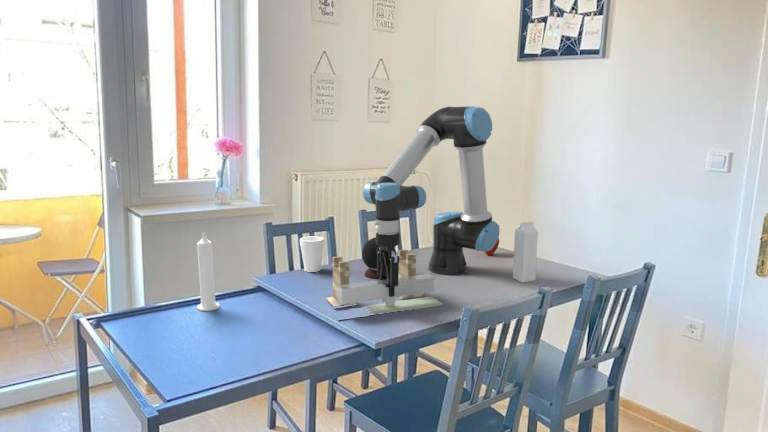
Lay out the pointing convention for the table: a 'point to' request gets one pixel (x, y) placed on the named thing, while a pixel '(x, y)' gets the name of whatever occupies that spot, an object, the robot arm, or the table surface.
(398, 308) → the mat
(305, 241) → the foam cup
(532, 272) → the milk
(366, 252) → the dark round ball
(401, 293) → the rail
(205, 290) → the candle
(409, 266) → the cradle posts
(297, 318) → the table surface
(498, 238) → the apple
